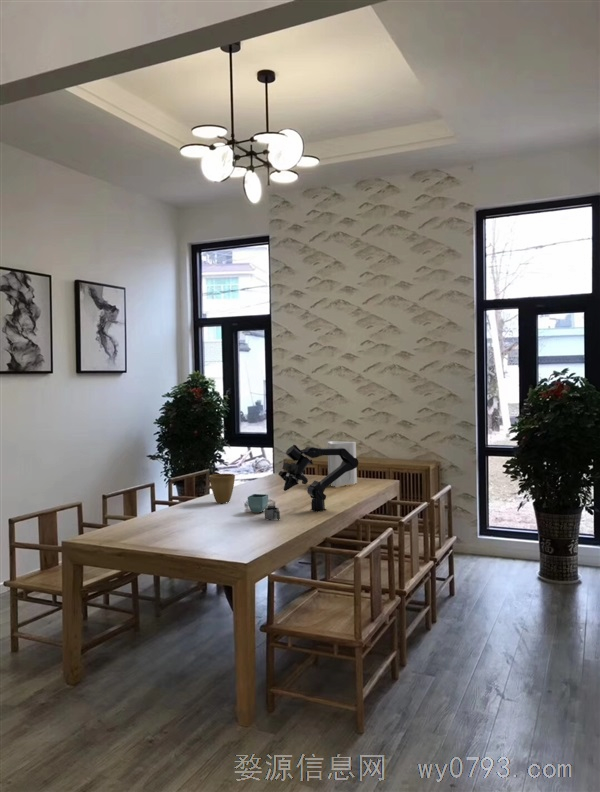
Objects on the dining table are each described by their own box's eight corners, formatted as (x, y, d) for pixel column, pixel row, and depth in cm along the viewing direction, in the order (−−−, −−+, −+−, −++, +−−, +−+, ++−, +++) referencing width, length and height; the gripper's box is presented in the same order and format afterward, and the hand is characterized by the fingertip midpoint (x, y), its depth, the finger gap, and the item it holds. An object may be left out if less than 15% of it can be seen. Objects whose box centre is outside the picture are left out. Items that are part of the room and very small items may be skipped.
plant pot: (236, 504, 364) (235, 476, 364) (210, 505, 362) (209, 477, 361) (235, 499, 379) (234, 472, 378) (210, 500, 376) (209, 474, 376)
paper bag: (321, 486, 415) (319, 443, 414) (331, 482, 427) (330, 441, 427) (347, 488, 405) (346, 444, 404) (357, 484, 418) (356, 441, 417)
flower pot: (263, 514, 334) (262, 497, 334) (247, 513, 337) (247, 496, 337) (269, 510, 342) (268, 494, 342) (254, 510, 345) (253, 493, 345)
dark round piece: (273, 515, 326) (272, 504, 326) (278, 517, 322) (278, 505, 322) (265, 517, 323) (264, 506, 323) (270, 518, 319) (270, 507, 319)
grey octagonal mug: (273, 516, 328) (273, 506, 328) (284, 519, 320) (284, 509, 320) (262, 518, 324) (262, 508, 323) (273, 521, 316) (273, 511, 316)
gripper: (280, 455, 338) (264, 479, 331) (302, 458, 323) (286, 482, 316) (292, 468, 343) (277, 491, 336) (314, 471, 328) (299, 496, 322)
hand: (284, 490), depth 328 cm, fingers closed
